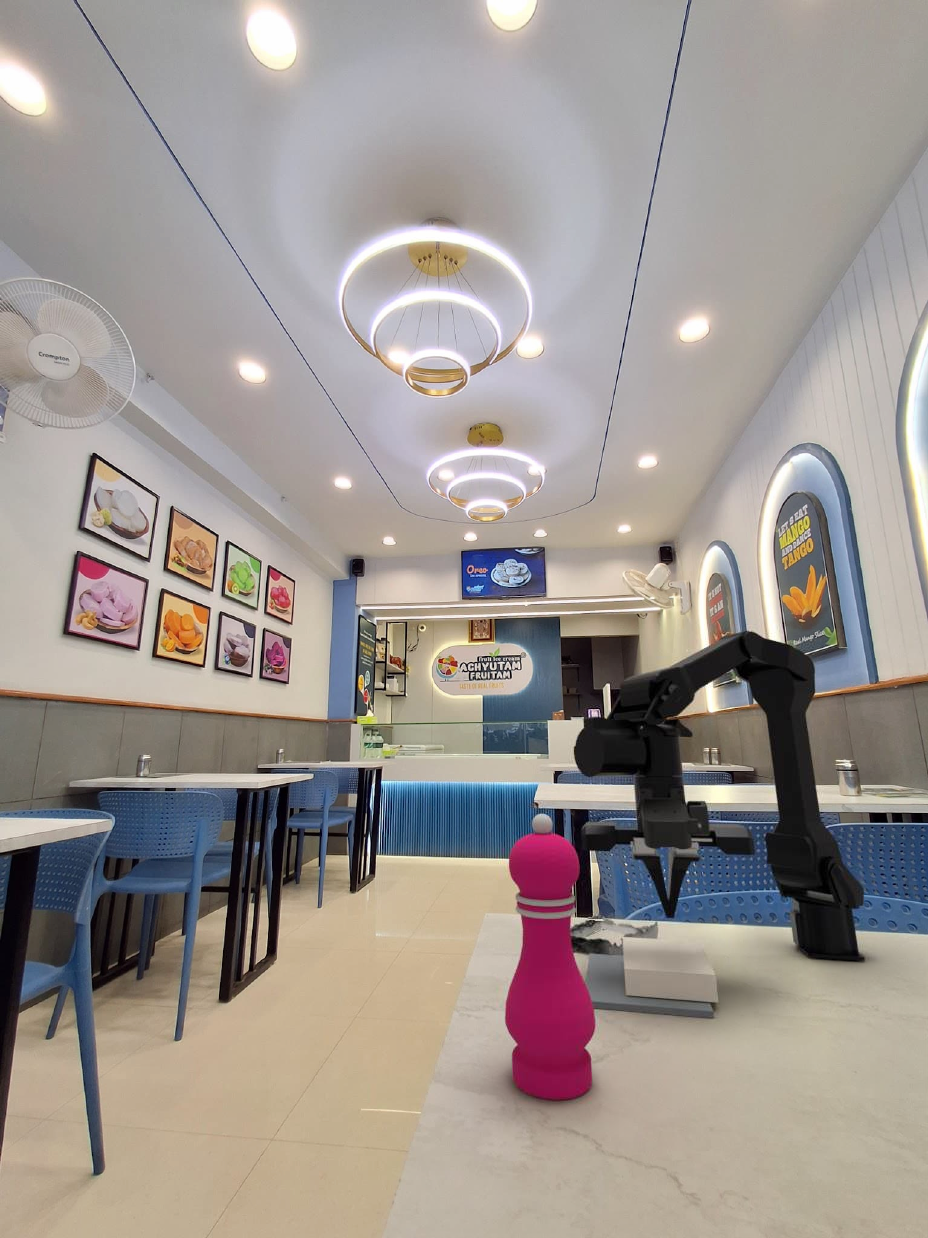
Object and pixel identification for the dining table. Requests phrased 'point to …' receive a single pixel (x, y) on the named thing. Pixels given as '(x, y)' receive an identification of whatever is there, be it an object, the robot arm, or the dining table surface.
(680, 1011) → the slate mat
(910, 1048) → the dining table surface
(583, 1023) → the pepper mill
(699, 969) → the ceramic tile
